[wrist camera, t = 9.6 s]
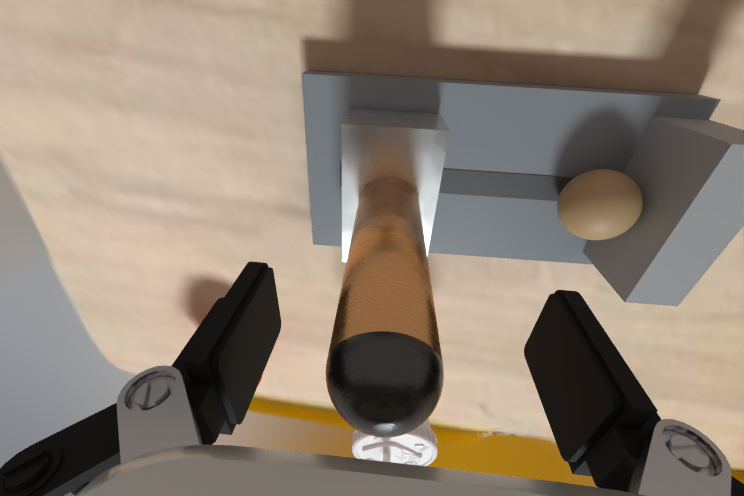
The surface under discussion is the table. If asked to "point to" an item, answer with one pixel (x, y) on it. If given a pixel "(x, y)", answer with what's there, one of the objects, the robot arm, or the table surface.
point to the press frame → (554, 174)
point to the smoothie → (398, 447)
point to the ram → (387, 273)
